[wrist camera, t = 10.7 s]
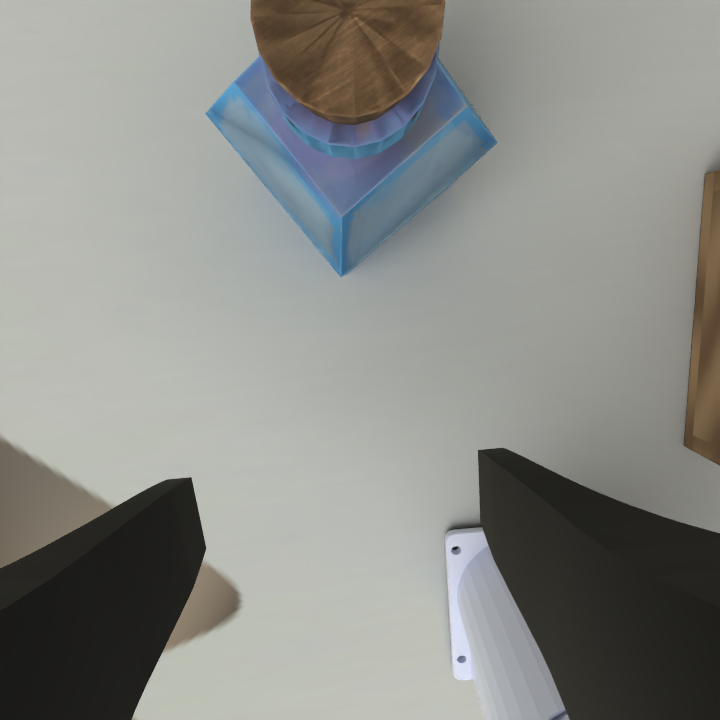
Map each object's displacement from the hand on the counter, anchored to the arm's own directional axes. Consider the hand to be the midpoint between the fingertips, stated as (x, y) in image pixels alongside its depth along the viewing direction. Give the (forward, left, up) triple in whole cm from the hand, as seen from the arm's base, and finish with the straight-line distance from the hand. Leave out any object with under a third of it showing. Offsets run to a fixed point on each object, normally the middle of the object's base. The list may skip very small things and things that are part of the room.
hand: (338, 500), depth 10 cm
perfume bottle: (+10, -1, -11) cm, 14 cm away
